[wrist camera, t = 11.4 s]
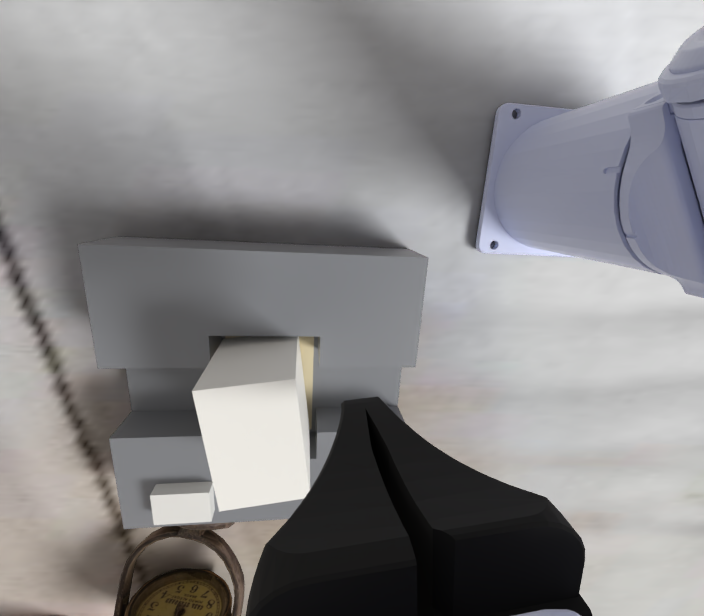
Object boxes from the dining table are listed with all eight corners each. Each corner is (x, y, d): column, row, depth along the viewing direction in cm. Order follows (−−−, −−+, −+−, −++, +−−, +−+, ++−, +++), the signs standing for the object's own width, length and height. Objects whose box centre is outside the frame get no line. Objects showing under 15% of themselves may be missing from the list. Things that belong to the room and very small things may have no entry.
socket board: (409, 248, 21) (434, 260, 17) (386, 471, 25) (401, 523, 21) (117, 236, 19) (65, 246, 15) (149, 482, 23) (116, 542, 19)
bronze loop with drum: (24, 695, 20) (174, 779, 21) (100, 561, 17) (277, 665, 17) (118, 573, 27) (228, 638, 28) (185, 460, 24) (310, 536, 24)
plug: (298, 324, 20) (295, 378, 14) (309, 414, 22) (310, 497, 16) (227, 332, 20) (191, 391, 14) (243, 423, 22) (219, 511, 15)
